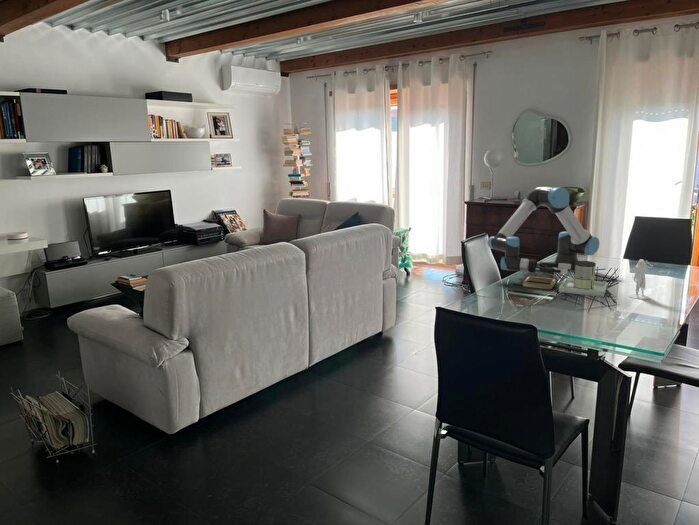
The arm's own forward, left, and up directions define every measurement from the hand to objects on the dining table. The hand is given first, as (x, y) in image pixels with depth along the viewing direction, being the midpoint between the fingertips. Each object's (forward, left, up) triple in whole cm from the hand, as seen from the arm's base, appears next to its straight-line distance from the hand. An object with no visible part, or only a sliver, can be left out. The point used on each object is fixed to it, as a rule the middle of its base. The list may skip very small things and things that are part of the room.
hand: (569, 269), depth 289 cm
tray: (0, +8, -11) cm, 13 cm away
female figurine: (+6, +34, -11) cm, 36 cm away
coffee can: (0, +8, -10) cm, 13 cm away
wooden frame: (0, -15, -11) cm, 18 cm away
